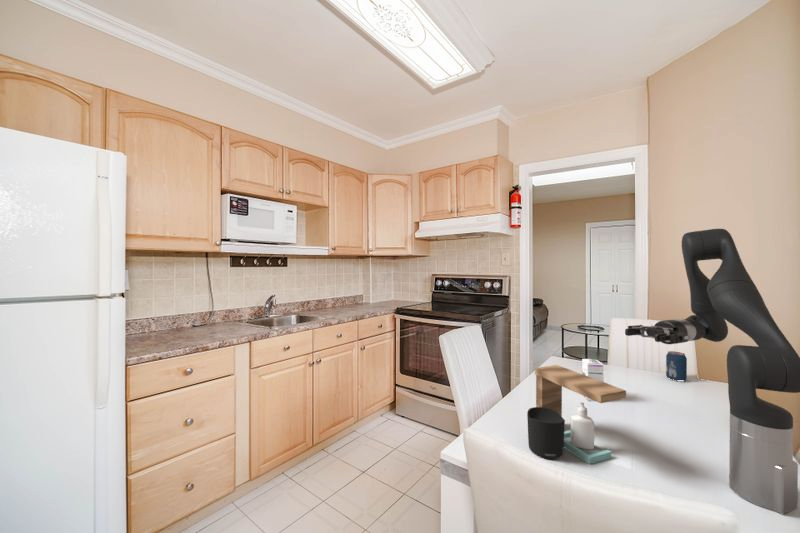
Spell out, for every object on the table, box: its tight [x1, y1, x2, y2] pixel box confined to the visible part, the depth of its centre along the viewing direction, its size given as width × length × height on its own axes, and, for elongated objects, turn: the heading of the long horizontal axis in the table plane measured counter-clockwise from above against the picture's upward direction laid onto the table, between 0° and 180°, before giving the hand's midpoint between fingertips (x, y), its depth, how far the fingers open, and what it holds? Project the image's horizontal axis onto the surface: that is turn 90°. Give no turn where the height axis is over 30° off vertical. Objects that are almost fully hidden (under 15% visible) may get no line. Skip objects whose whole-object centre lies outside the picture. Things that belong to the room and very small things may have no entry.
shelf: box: [534, 364, 627, 418], centre depth 90 cm, size 22×9×19 cm, turn 20°
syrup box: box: [581, 358, 605, 402], centre depth 121 cm, size 6×6×14 cm
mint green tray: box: [563, 429, 613, 465], centre depth 88 cm, size 12×8×2 cm, turn 20°
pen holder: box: [526, 406, 566, 461], centre depth 87 cm, size 9×9×10 cm
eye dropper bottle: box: [570, 402, 595, 449], centre depth 88 cm, size 4×6×12 cm
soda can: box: [665, 350, 688, 381], centre depth 141 cm, size 7×7×12 cm
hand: (640, 335), depth 96 cm, fingers open, 8 cm apart
